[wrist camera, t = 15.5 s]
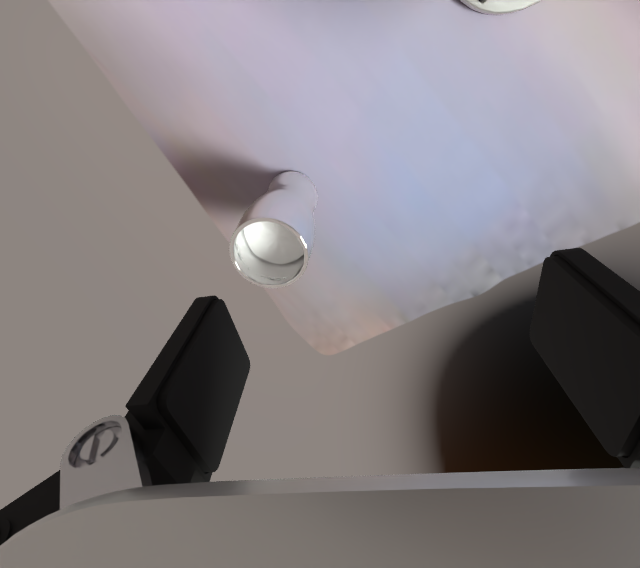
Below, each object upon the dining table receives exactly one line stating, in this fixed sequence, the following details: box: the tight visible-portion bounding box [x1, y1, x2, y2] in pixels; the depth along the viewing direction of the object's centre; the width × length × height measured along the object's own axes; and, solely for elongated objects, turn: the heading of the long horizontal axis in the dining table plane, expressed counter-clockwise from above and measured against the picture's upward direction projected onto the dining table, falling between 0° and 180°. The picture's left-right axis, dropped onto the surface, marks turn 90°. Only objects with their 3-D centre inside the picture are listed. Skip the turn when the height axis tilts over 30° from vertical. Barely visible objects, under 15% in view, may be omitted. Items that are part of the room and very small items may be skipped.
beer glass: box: [229, 171, 318, 288], centre depth 33 cm, size 7×7×15 cm
